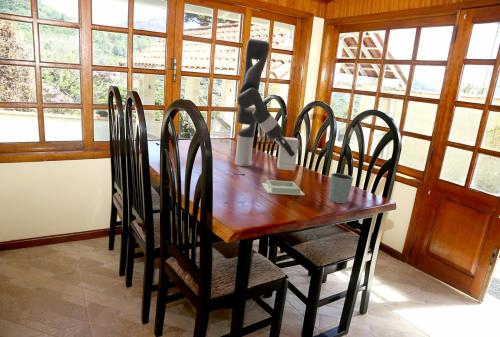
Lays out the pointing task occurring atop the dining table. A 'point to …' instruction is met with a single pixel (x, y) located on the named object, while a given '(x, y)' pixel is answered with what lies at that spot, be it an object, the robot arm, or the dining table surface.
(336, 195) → the grey plant pot
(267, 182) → the tray
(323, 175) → the dining table surface
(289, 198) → the dining table surface
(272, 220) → the dining table surface
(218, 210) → the dining table surface
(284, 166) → the skincare box
